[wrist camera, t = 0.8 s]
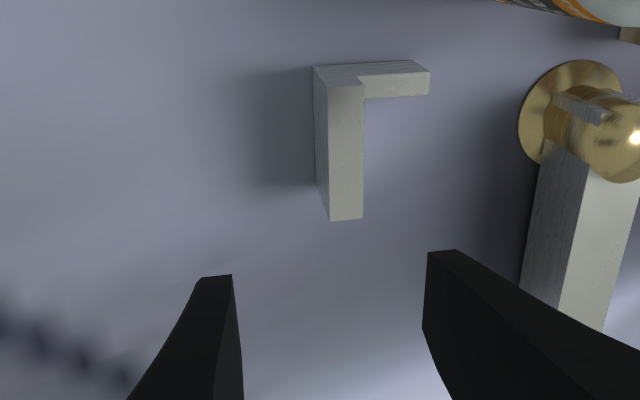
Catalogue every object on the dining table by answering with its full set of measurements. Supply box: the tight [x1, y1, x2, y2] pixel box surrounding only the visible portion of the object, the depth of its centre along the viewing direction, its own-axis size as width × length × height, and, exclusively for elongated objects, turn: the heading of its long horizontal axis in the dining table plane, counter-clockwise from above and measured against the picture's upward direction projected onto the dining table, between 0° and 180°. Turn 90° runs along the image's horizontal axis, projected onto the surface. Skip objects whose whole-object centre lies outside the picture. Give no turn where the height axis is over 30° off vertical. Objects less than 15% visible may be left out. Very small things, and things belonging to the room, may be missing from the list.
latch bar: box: [519, 85, 640, 333], centre depth 22 cm, size 10×3×3 cm, turn 2°
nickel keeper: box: [312, 60, 430, 222], centre depth 19 cm, size 4×5×3 cm
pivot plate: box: [518, 60, 622, 164], centre depth 22 cm, size 5×5×1 cm
